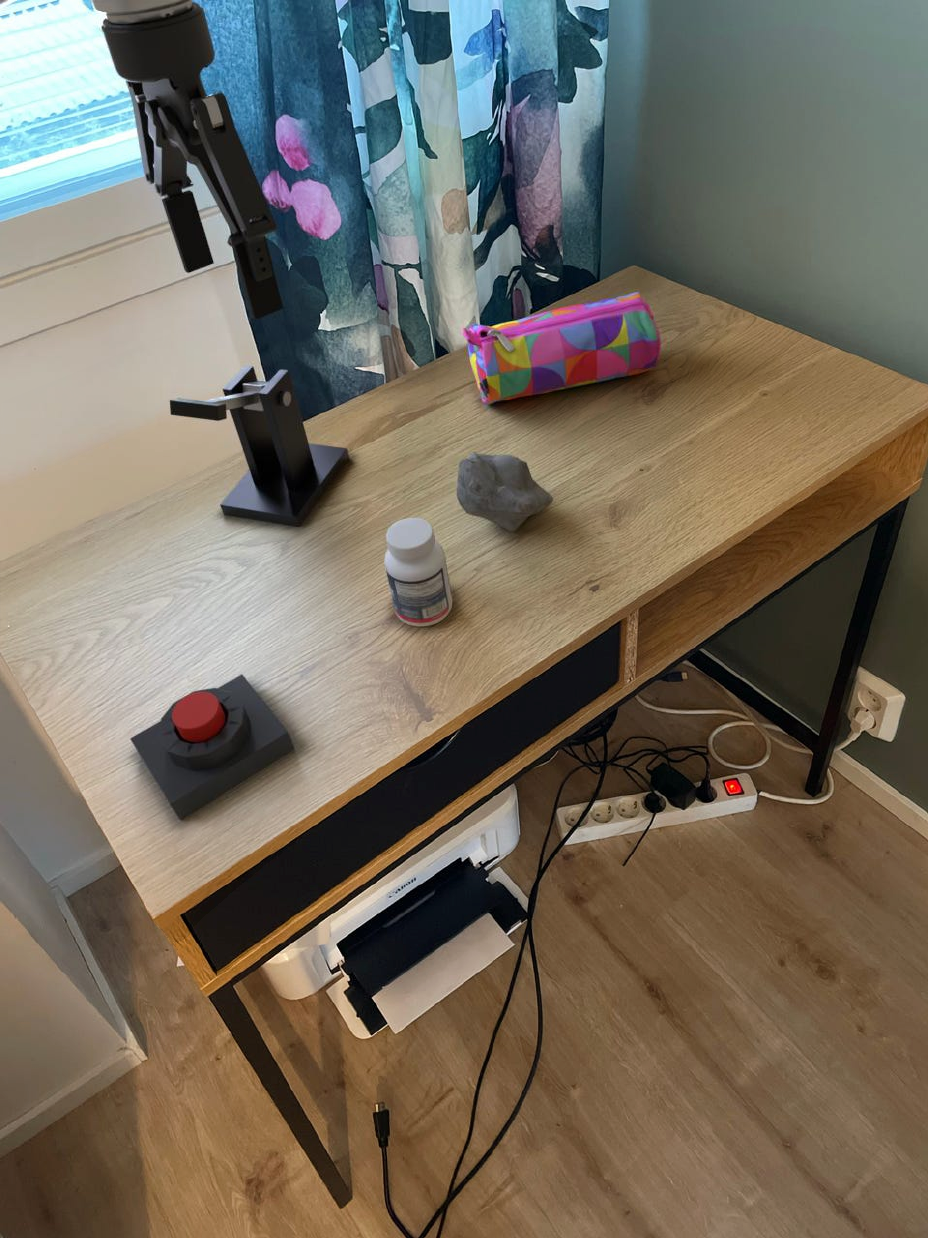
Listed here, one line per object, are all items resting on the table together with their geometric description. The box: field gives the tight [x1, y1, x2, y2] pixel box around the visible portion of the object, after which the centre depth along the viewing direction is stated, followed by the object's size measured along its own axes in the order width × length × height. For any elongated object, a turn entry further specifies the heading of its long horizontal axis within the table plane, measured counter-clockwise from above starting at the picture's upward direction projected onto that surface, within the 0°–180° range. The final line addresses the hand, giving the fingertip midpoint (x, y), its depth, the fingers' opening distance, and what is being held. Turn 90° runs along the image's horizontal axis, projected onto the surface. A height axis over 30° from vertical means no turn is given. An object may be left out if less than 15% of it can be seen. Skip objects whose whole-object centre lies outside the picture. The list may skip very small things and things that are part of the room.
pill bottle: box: [384, 517, 453, 627], centre depth 77 cm, size 5×5×9 cm
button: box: [172, 692, 225, 742], centre depth 68 cm, size 4×4×2 cm
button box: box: [129, 673, 296, 821], centre depth 70 cm, size 10×8×4 cm
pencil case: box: [461, 291, 662, 405], centre depth 101 cm, size 22×9×9 cm, turn 103°
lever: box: [169, 380, 269, 422], centre depth 84 cm, size 12×5×2 cm, turn 159°
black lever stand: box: [219, 365, 350, 528], centre depth 91 cm, size 12×9×13 cm
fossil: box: [456, 451, 554, 532], centre depth 85 cm, size 11×9×8 cm
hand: (232, 289), depth 80 cm, fingers open, 13 cm apart
